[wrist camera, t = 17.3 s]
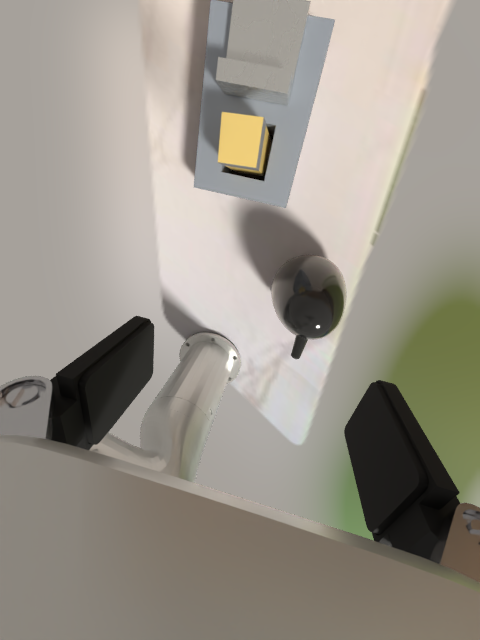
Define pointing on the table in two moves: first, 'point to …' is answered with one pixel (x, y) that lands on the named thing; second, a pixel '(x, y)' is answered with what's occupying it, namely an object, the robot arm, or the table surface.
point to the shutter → (263, 49)
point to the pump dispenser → (308, 298)
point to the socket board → (258, 114)
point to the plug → (244, 143)
